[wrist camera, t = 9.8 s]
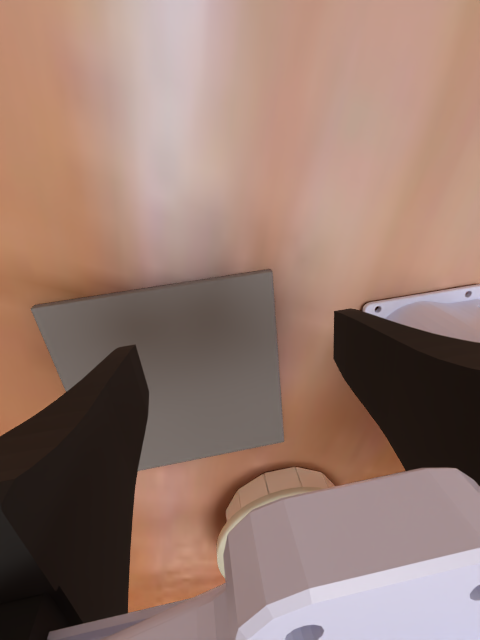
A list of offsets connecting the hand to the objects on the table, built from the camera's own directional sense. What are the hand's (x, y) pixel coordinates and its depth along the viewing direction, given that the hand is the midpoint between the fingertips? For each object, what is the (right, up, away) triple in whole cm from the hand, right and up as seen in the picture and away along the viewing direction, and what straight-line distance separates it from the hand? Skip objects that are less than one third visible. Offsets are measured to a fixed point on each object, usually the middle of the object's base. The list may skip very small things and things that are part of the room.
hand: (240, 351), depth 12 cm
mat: (-5, -3, +12) cm, 14 cm away
